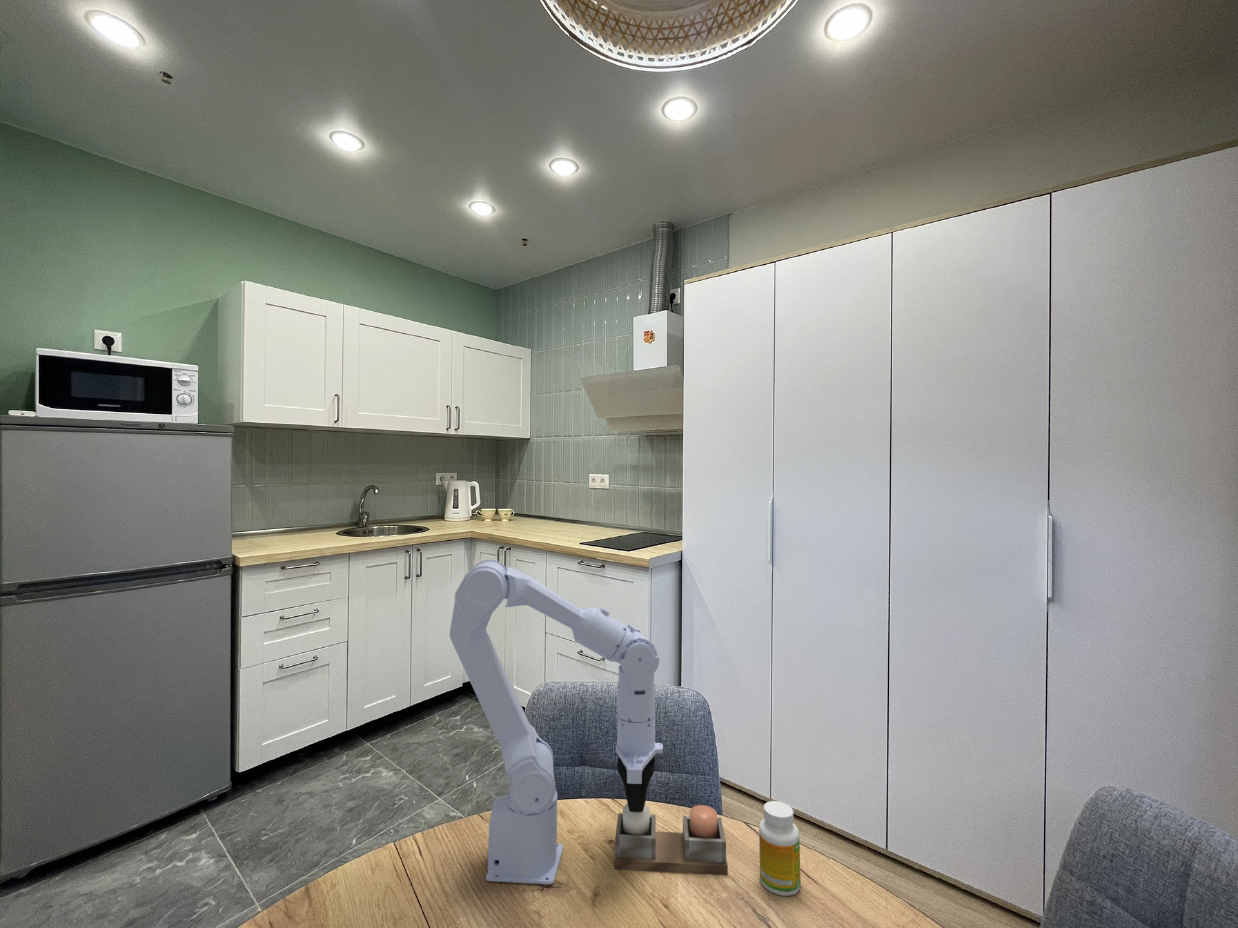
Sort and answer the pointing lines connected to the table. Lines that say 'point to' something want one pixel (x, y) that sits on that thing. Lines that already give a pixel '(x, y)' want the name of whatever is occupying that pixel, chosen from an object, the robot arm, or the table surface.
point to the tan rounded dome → (703, 821)
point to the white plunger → (636, 821)
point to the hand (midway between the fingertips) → (636, 809)
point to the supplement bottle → (779, 850)
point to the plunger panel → (670, 850)
